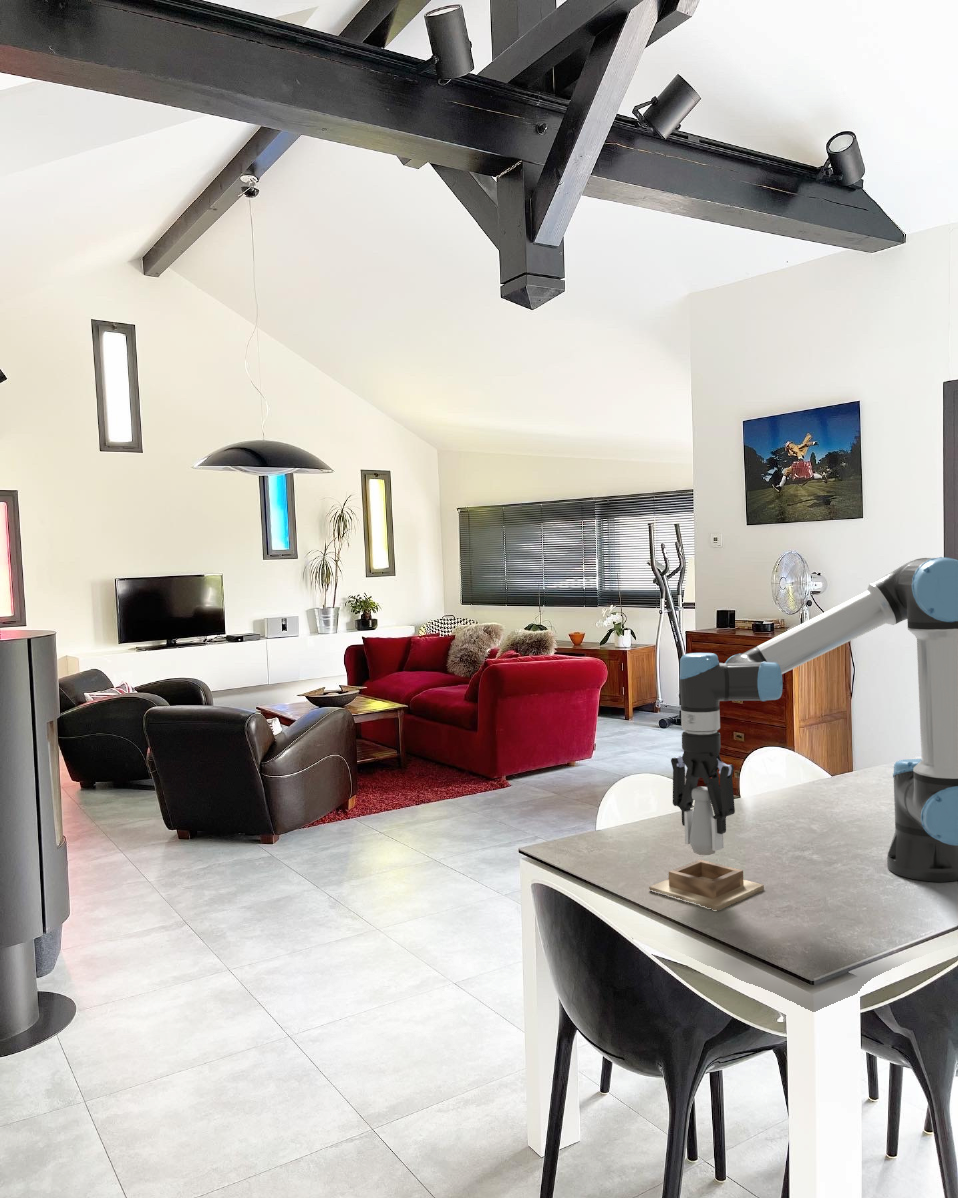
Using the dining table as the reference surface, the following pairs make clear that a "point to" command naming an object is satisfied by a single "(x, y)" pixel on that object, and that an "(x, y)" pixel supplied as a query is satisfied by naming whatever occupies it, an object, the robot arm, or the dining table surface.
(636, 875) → the dining table surface
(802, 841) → the dining table surface
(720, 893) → the collar board
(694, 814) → the salt shaker
